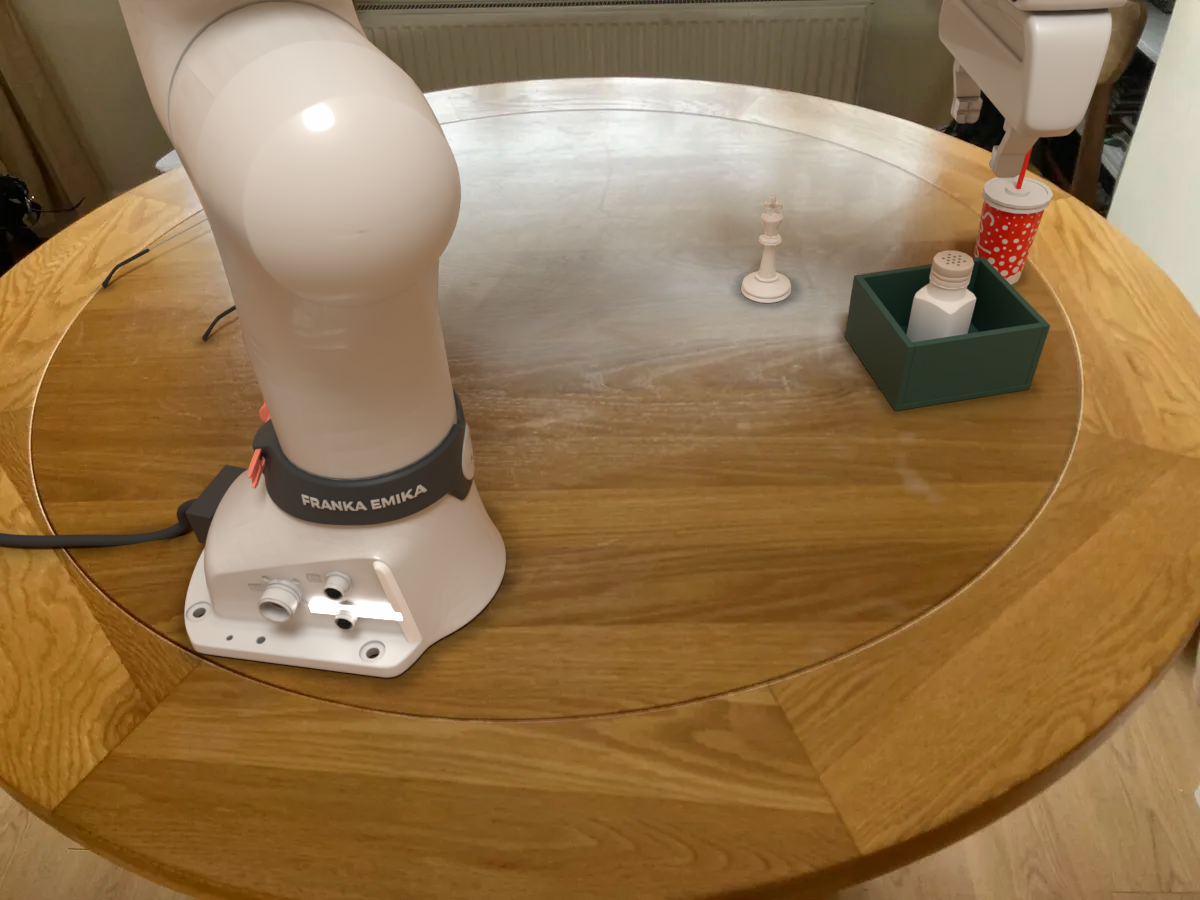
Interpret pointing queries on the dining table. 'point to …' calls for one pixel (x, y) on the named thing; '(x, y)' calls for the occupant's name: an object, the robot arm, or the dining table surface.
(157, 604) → the dining table surface
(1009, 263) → the beverage cup
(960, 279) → the pepper shaker
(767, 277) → the chess piece
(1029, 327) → the bin
